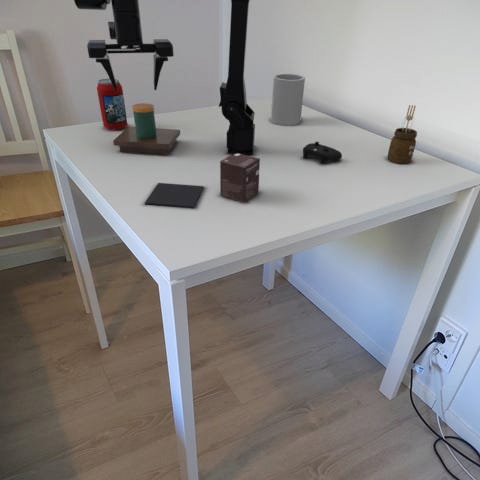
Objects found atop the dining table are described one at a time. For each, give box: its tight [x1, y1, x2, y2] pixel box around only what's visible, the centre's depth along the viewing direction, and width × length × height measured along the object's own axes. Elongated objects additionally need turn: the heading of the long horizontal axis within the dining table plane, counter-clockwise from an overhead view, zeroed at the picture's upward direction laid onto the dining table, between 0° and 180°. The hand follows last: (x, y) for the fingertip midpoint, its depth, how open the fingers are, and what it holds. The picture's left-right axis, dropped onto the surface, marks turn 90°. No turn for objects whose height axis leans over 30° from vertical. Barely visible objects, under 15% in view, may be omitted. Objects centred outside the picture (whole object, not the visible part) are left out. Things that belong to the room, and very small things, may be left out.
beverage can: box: [96, 78, 128, 131], centre depth 118 cm, size 7×7×12 cm
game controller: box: [302, 141, 343, 164], centre depth 106 cm, size 10×5×6 cm
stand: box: [112, 125, 181, 156], centre depth 109 cm, size 14×12×3 cm
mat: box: [144, 182, 205, 209], centre depth 88 cm, size 10×10×1 cm
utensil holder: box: [387, 104, 418, 165], centre depth 103 cm, size 6×6×12 cm
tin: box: [131, 102, 157, 139], centre depth 105 cm, size 5×5×7 cm
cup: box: [270, 73, 306, 127], centre depth 127 cm, size 9×9×12 cm
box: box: [219, 153, 261, 203], centre depth 87 cm, size 6×6×7 cm
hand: (136, 90), depth 102 cm, fingers open, 9 cm apart
